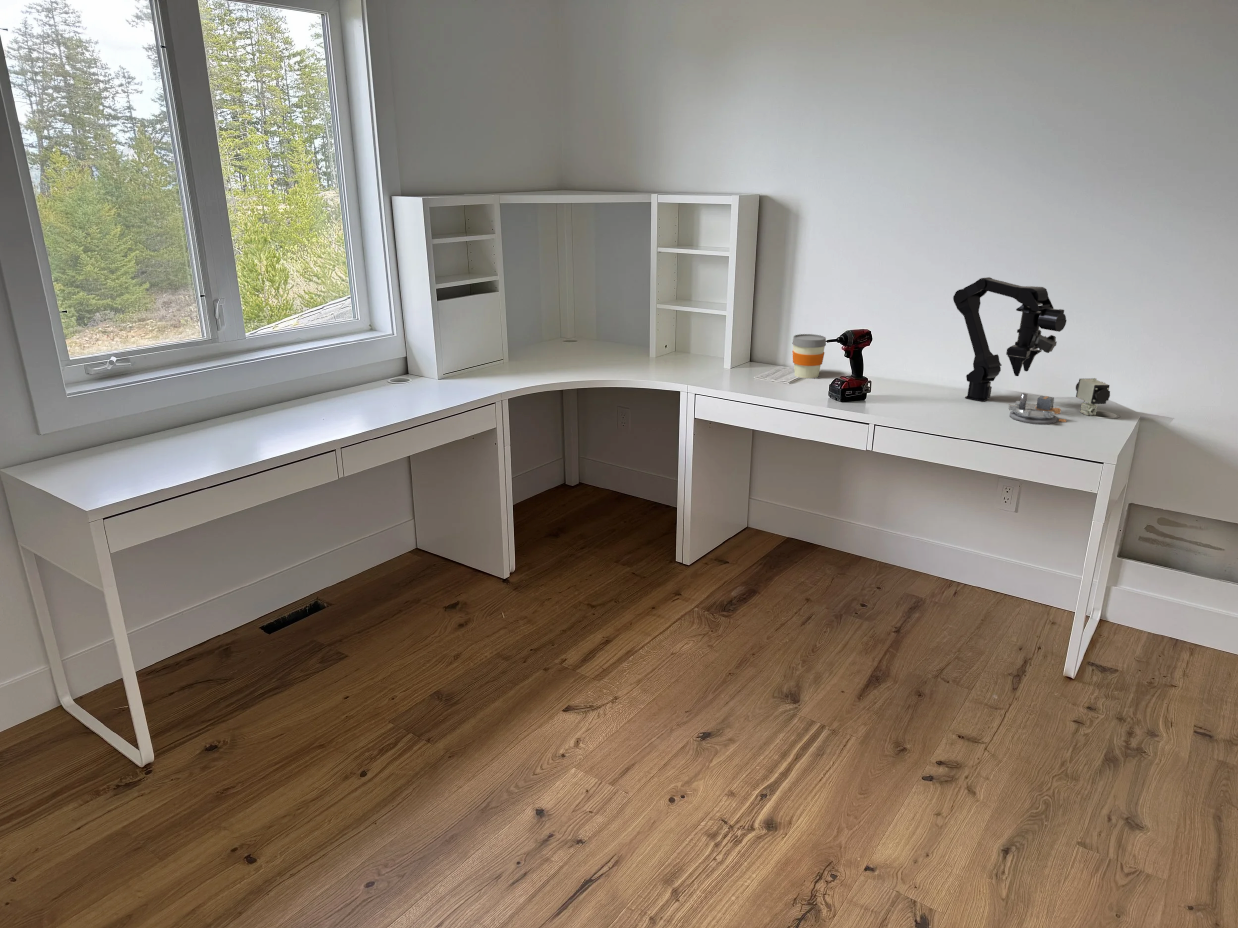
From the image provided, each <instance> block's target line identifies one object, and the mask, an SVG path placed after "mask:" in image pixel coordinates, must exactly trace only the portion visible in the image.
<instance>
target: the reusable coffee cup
mask: <svg viewBox="0 0 1238 928" xmlns="http://www.w3.org/2000/svg"><path fill="white" fill-rule="evenodd" d="M791 343H792V346H793V349H792V363H793V365H794V366H793V367H794V377H797V378H800V379H816V378H818V377H819V375H820V374H819V373H820V370H821V366H822V365H823V361H824V356H825V347H826V346H827V337H826V336H824V335H821V334H813V333H802V334H801V333H799V334H795V335H793V337H792V342H791Z"/></svg>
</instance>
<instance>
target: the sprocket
mask: <svg viewBox="0 0 1238 928" xmlns="http://www.w3.org/2000/svg"><path fill="white" fill-rule="evenodd" d="M1027 399H1028V393H1026V392H1021V393H1020V400H1015V404H1008V406H1007V410H1008V411H1013V413H1014V414H1015V415H1017V416H1020V417H1024V418H1028V419H1037V420H1048V419H1052V418H1054V416H1055V415H1060V414H1061V409H1062V408H1060V407H1053V408H1052V409H1051V410H1044V409H1037V403H1027Z"/></svg>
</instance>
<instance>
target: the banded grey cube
mask: <svg viewBox="0 0 1238 928" xmlns="http://www.w3.org/2000/svg"><path fill="white" fill-rule="evenodd" d="M1054 401H1055V397H1053V396H1047V395H1040V396H1038V397H1037V402H1036V404H1037V409H1044V410H1051V409H1052V408H1054V403H1055V402H1054Z"/></svg>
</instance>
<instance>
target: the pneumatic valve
mask: <svg viewBox="0 0 1238 928" xmlns="http://www.w3.org/2000/svg"><path fill="white" fill-rule="evenodd" d="M1075 391H1076V395H1075V397H1076V398H1078V399H1080V400H1082V401H1083V402H1082V403H1081V406H1080V411H1079V412H1080V413H1081V414H1082V415H1084V416H1096V414H1097V412H1098V410H1097V408H1098V405H1106V404H1107V401H1109V399H1110V396H1111V391H1110V384H1107V383H1106V382H1104V381H1100V380H1097V378H1095V377H1094V378H1093V377H1092V378H1079V379H1078V382H1077V383H1076V385H1075Z"/></svg>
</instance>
